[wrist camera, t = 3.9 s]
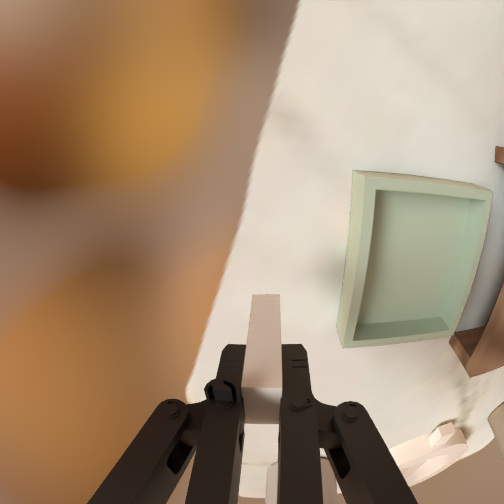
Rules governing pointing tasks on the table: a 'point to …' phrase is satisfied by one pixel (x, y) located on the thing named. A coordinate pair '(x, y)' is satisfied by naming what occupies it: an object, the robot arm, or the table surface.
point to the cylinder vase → (327, 483)
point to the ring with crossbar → (429, 453)
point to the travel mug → (498, 425)
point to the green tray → (409, 257)
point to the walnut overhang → (483, 333)
